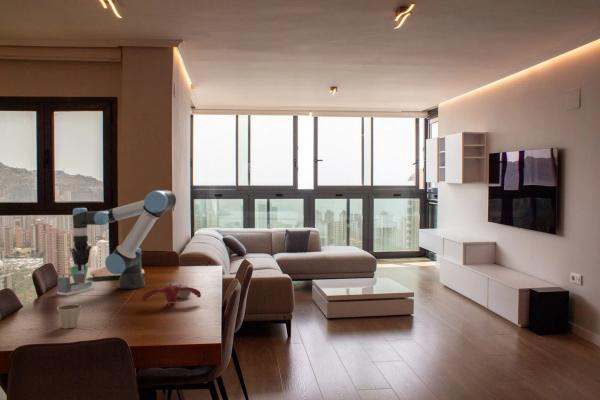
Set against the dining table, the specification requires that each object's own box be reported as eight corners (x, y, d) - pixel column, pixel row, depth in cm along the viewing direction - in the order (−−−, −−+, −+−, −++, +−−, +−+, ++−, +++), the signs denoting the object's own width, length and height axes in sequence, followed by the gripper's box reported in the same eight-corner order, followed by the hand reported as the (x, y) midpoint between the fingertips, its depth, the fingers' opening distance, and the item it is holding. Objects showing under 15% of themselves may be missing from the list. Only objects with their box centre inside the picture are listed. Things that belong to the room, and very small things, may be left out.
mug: (85, 285, 304) (85, 268, 304) (68, 285, 303) (68, 268, 302) (92, 280, 318) (92, 264, 318) (76, 280, 317) (75, 264, 317)
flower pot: (62, 323, 223) (62, 304, 223) (84, 323, 224) (84, 303, 223) (54, 330, 214) (53, 310, 213) (77, 329, 214) (76, 309, 214)
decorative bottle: (191, 298, 271) (191, 285, 270) (178, 300, 266) (177, 287, 266) (174, 289, 292) (174, 277, 292) (161, 291, 288) (161, 279, 287)
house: (91, 275, 336) (90, 263, 336) (143, 272, 347) (142, 260, 347) (89, 282, 314) (89, 269, 314) (145, 278, 326) (144, 265, 326)
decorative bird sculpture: (142, 315, 252) (141, 298, 242) (143, 299, 259) (142, 282, 248) (200, 311, 260) (201, 294, 250) (199, 295, 266) (200, 278, 256)
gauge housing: (84, 287, 296) (83, 271, 296) (94, 289, 293) (94, 272, 292) (57, 294, 280) (56, 277, 280) (67, 295, 277) (67, 278, 276)
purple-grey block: (76, 287, 291) (76, 272, 290) (85, 288, 287) (85, 274, 287) (68, 289, 286) (68, 274, 286) (78, 290, 283) (78, 275, 282)
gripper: (85, 233, 296) (86, 273, 297) (66, 236, 284) (67, 277, 285) (94, 234, 292) (95, 274, 294) (75, 236, 281) (76, 278, 282)
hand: (81, 276), depth 289 cm, fingers closed
